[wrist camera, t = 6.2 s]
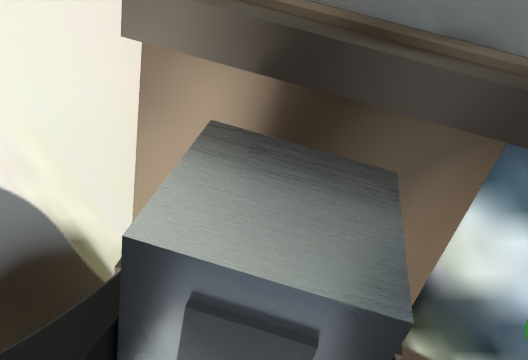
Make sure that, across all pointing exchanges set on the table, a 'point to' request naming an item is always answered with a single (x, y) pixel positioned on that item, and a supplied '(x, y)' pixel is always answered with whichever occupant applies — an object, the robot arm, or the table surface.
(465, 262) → the table surface
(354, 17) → the board
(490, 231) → the table surface
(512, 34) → the table surface
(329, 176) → the block
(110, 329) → the robot arm
